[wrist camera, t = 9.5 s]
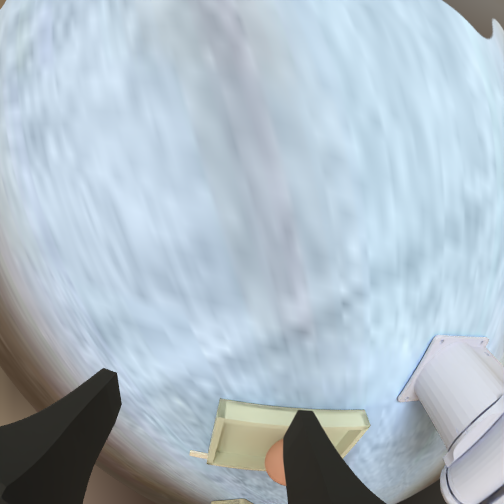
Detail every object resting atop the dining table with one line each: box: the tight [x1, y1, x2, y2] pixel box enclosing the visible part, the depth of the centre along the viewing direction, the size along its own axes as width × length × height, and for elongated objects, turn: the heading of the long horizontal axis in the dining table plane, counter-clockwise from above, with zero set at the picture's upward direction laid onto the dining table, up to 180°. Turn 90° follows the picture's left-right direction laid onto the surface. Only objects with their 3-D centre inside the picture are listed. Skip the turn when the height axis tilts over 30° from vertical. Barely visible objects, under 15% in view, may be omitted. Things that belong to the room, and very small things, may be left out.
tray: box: [207, 399, 371, 471], centre depth 22 cm, size 14×10×2 cm
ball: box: [265, 439, 286, 486], centre depth 20 cm, size 6×6×6 cm
